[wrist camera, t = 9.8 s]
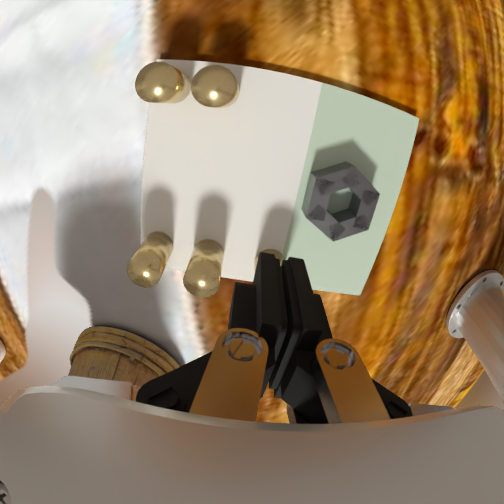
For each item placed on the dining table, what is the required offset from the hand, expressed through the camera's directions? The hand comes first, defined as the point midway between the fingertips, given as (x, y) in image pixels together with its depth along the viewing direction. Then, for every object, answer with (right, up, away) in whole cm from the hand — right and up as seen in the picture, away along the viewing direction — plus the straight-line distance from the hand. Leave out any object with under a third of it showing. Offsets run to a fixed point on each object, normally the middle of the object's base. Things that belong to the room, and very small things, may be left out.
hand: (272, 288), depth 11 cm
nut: (+7, +6, +14) cm, 17 cm away
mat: (+1, +7, +14) cm, 16 cm away
